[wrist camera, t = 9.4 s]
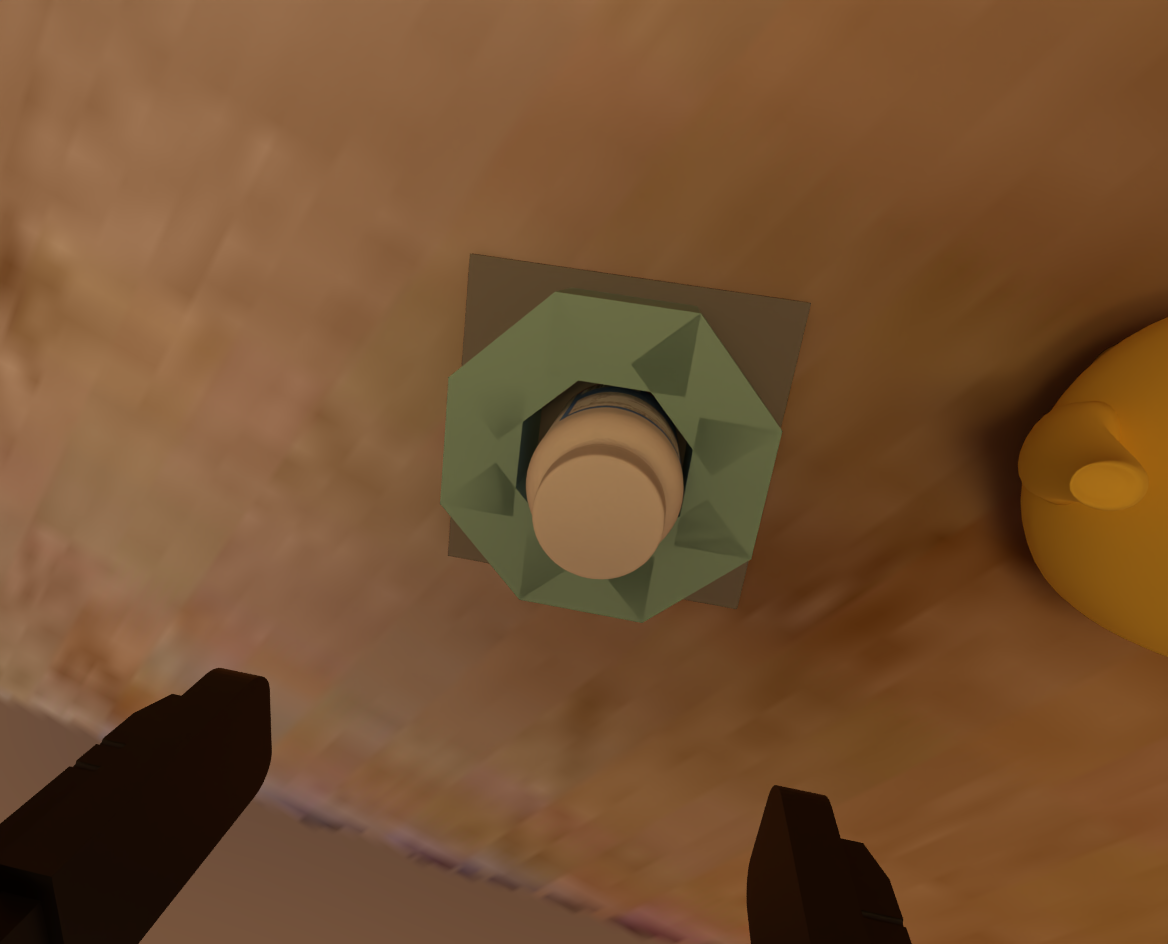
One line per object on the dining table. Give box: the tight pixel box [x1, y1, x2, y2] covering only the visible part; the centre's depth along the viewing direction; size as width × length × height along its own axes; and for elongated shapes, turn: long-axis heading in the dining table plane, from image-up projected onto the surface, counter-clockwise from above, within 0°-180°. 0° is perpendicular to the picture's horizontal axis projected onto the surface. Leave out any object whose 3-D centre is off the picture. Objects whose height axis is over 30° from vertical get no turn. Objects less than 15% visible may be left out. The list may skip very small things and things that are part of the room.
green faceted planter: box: [440, 288, 782, 623], centre depth 26 cm, size 12×12×4 cm
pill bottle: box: [526, 384, 684, 579], centre depth 24 cm, size 6×5×10 cm
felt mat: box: [448, 254, 811, 609], centre depth 29 cm, size 14×14×1 cm
